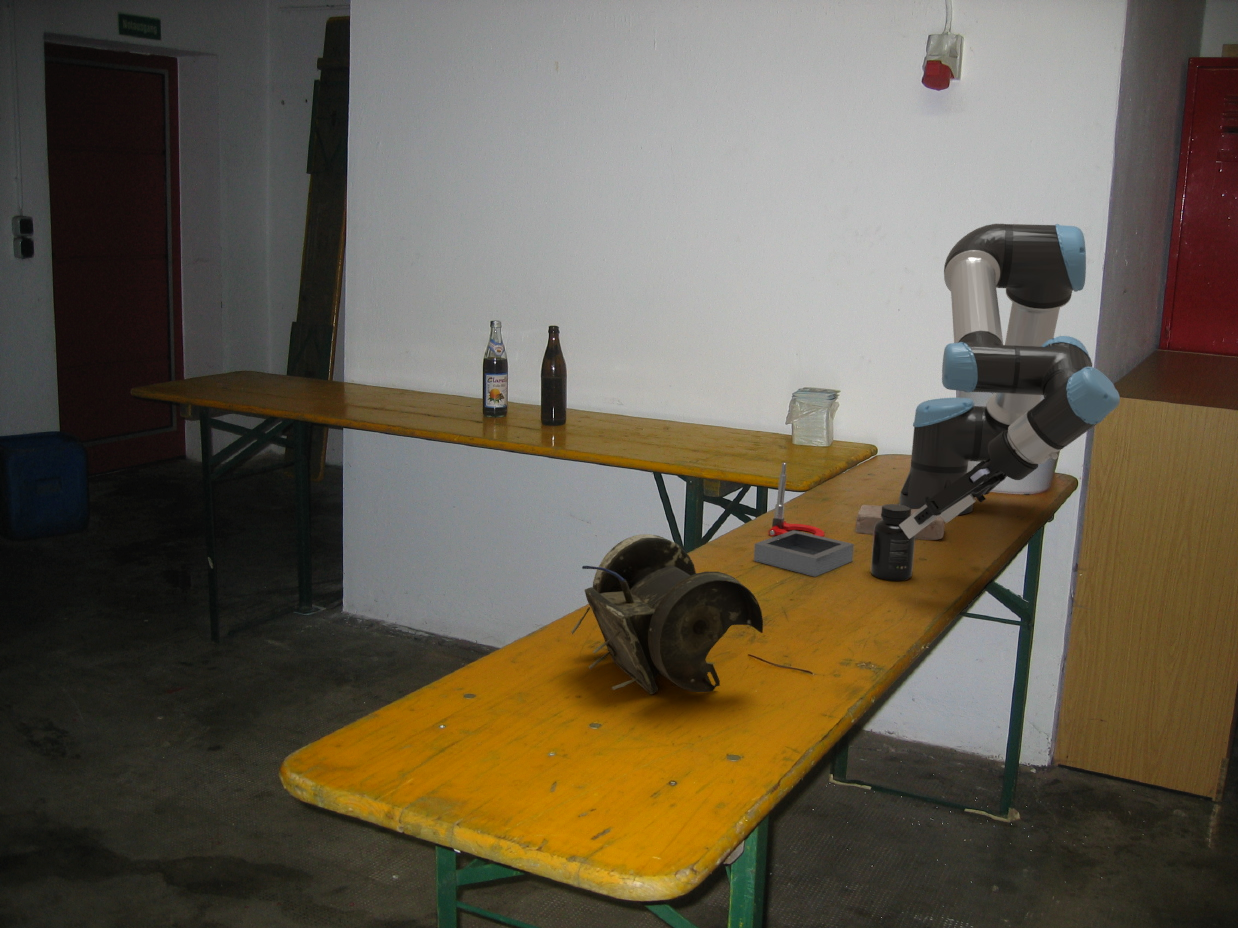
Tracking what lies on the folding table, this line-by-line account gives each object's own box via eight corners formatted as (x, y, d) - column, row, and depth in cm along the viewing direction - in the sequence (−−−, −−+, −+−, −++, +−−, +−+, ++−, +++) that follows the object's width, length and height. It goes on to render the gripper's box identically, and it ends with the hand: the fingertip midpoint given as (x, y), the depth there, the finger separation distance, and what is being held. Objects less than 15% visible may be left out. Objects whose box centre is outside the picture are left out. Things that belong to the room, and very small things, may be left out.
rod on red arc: (829, 535, 211) (779, 525, 215) (837, 465, 207) (786, 457, 211) (816, 547, 203) (765, 537, 207) (825, 475, 199) (772, 466, 203)
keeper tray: (792, 546, 201) (793, 530, 200) (852, 561, 193) (853, 543, 192) (753, 560, 191) (754, 543, 191) (815, 576, 183) (816, 558, 183)
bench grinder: (706, 610, 156) (651, 492, 149) (789, 659, 136) (730, 526, 129) (589, 687, 150) (526, 569, 144) (658, 751, 130) (589, 616, 124)
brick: (854, 534, 211) (856, 511, 210) (858, 523, 219) (860, 501, 218) (942, 544, 206) (945, 520, 205) (943, 532, 214) (946, 509, 213)
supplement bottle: (917, 574, 186) (923, 506, 183) (902, 584, 181) (908, 514, 178) (880, 566, 190) (885, 500, 187) (864, 576, 185) (869, 507, 182)
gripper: (1006, 479, 156) (902, 558, 168) (1067, 455, 174) (969, 528, 187) (974, 438, 158) (874, 518, 171) (1037, 418, 176) (943, 492, 189)
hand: (923, 523), depth 179 cm, fingers open, 13 cm apart
